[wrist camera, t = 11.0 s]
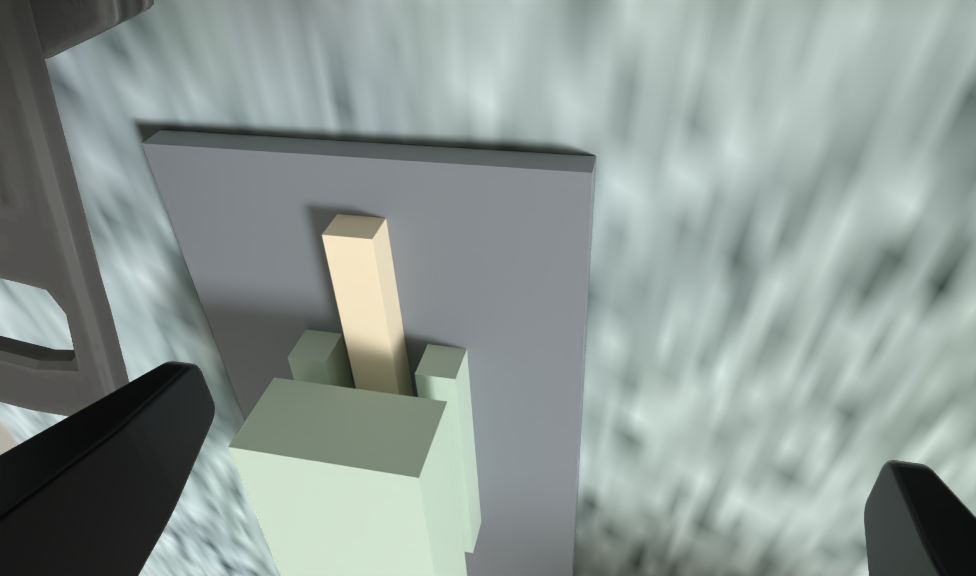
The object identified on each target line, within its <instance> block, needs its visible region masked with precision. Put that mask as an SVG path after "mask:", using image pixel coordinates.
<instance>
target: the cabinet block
mask: <svg viewBox="0 0 976 576" xmlns="http://www.w3.org/2000/svg"><path fill="white" fill-rule="evenodd" d="M288 361H289V364H290V367H291V371H292V374H293V378H294V380H289V379H281V378H273V380H272V381H271V383H270V385H269V386H268V388H267V389H266V391H265V392H264V394H263V395H262V397H261V398H260V400H259V401H258V403H257V404H256V406H255V407H254V409H253V410H252V412H251V413H250V415H249V416H248V418H247V419H246V421H245V422H244V424H243V425H242V427H241V428H240V430H239V431H238V433H237V434H236V436H235V437H234V439H233V440H232V442H231V443H230V445H229V446H228V448H229V450H230V453H231V455H232V458H233V460H234V463H235V465H236V468H237V470H238V473H239V475H240V477H241V480H242V482H243V485H244V487H245V490H246V492H247V495H248V497H249V499H250V502H251V504H252V507H253V509H254V512H255V514H256V517H257V519H258V521H259V524H260V526H261V529H262V531H263V534H264V536H265V539H266V541H267V544H268V546H269V548H270V551H271V553H272V556H273V558H274V561H275V563H276V566H277V568H278V570H279V573H280V575H281V576H467V570H466V561H465V553H464V552H470V553H473V551H474V548H475V544H476V540H477V536H478V533H479V529H480V525H481V512H480V500H479V488H478V476H477V464H476V453H475V441H474V429H473V417H472V405H471V393H470V381H469V369H468V357H467V349H463V348H455V347H447V346H438V345H430V344H428V345H427V347H426V350H425V352H424V354H423V356H422V359H421V361H420V363H419V365H418V368H417V370H416V372H415V379H416V386H417V393H418V397H412V396H405V395H397V394H390V393H383V392H376V391H368V390H361V389H354V384H353V380H352V375H351V371H350V367H349V362H348V358H347V353H346V349H345V344H344V340H343V335H342V334H340V333H331V332H323V331H315V330H307V329H306V330H305V332H304V333H303V335H302V336H301V338H300V339H299V341H298V342H297V344H296V345H295V347H294V348H293V350H292V351H291V353H290V354H289V356H288Z"/></svg>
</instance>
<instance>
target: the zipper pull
mask: <svg viewBox="0 0 976 576" xmlns="http://www.w3.org/2000/svg"><path fill="white" fill-rule="evenodd" d="M153 4H154V0H0V278H2V279H6V280H11V281H15V282H19V283H23V284H27V285H30V286H34V287H38V288H41V289H45V290H47V291H48V292H49V294H50V295H51V296H52V297H53V299H54V300H55V301H56V302H57V304H58V305H59V306H60V307H61V308H62V310H63V311H64V312H65V313H66V315H67V320H68V324H69V329H70V333H71V338H72V342H73V347H74V350H55V349H51V348H47V347H43V346H39V345H35V344H31V343H27V342H23V341H19V340H15V339H11V338H7V337H3V336H0V402H3V403H7V404H10V405H14V406H18V407H22V408H26V409H30V410H35V411H40V412H46V413H52V414H58V415H64V416H71V415H73V414H74V413H76V412H78V411H80V410H82V409H83V408H85V407H87V406H89V405H91V404H92V403H94V402H96V401H98V400H99V399H101V398H103V397H105V396H107V395H108V394H110V393H112V392H114V391H115V390H117V389H119V388H121V387H123V386H124V385H126V384H128V383H129V379H128V375H127V371H126V368H125V364H124V360H123V356H122V352H121V348H120V344H119V340H118V336H117V332H116V328H115V324H114V320H113V316H112V312H111V309H110V305H109V302H108V298H107V295H106V292H105V288H104V285H103V282H102V278H101V274H100V271H99V267H98V263H97V259H96V255H95V251H94V248H93V244H92V240H91V236H90V232H89V228H88V225H87V221H86V217H85V213H84V209H83V205H82V202H81V198H80V194H79V190H78V186H77V182H76V178H75V175H74V171H73V167H72V163H71V159H70V155H69V152H68V148H67V144H66V140H65V136H64V132H63V129H62V125H61V121H60V117H59V113H58V109H57V106H56V102H55V98H54V94H53V90H52V86H51V83H50V79H49V75H48V71H47V67H46V63H45V59H46V58H50V57H53V56H55V55H57V54H59V53H61V52H63V51H65V50H67V49H69V48H71V47H73V46H76V45H78V44H80V43H82V42H84V41H86V40H88V39H90V38H92V37H94V36H96V35H98V34H100V33H102V32H104V31H106V30H108V29H110V28H112V27H114V26H116V25H118V24H120V23H122V22H124V21H126V20H128V19H129V18H131V17H133V16H135V15H137V14H139V13H141V12H143V11H145V10H147V9H149V8H150V7H151V6H152V5H153Z"/></svg>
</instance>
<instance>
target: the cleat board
mask: <svg viewBox="0 0 976 576" xmlns="http://www.w3.org/2000/svg"><path fill="white" fill-rule="evenodd" d="M142 146H143V149H144V151H145V154H146V157H147V159H148V162H149V165H150V167H151V170H152V173H153V175H154V178H155V181H156V183H157V186H158V189H159V191H160V194H161V197H162V200H163V202H164V205H165V208H166V210H167V213H168V216H169V218H170V221H171V224H172V226H173V229H174V232H175V234H176V237H177V240H178V242H179V245H180V248H181V250H182V253H183V256H184V259H185V261H186V264H187V267H188V269H189V272H190V275H191V277H192V280H193V283H194V285H195V288H196V291H197V293H198V296H199V299H200V301H201V304H202V307H203V309H204V312H205V315H206V318H207V320H208V323H209V326H210V328H211V331H212V334H213V336H214V339H215V342H216V344H217V347H218V350H219V352H220V355H221V358H222V360H223V363H224V366H225V368H226V371H227V374H228V376H229V379H230V382H231V385H232V387H233V390H234V393H235V395H236V398H237V401H238V403H239V406H240V409H241V411H242V414H243V417H244V419H245V421H246V419H247V418H248V416H249V415H250V413H251V412H252V410H253V409H254V407H255V406H256V404H257V403H258V401H259V400H260V398H261V397H262V395H263V394H264V392H265V391H266V389H267V388H268V386H269V385H270V383H271V381H272V380H273V378H281V379H289V380H294V378H293V374H292V371H291V367H290V364H289V361H288V356H289V354H290V353H291V351H292V350H293V348H294V347H295V345H296V344H297V342H298V341H299V339H300V338H301V336H302V335H303V333H304V332H305V330H306V329H307V330H315V331H323V332H331V333H340V334H342V335H343V340H344V344H345V349H346V353H347V358H348V362H349V367H350V371H351V375H352V380H353V384H354V389H361V390H368V391H376V392H383V393H390V394H397V395H405V396H412V397H418V393H417V386H416V379H415V372H416V370H417V368H418V365H419V363H420V361H421V359H422V356H423V354H424V352H425V350H426V347H427V345H428V344H430V345H438V346H447V347H455V348H463V349H467V357H468V369H469V381H470V393H471V405H472V417H473V429H474V441H475V453H476V464H477V476H478V488H479V500H480V512H481V525H480V529H479V533H478V536H477V540H476V544H475V548H474V551H473V553H470V552H464V553H465V561H466V570H467V576H573V570H574V551H575V533H576V515H577V496H578V478H579V460H580V441H581V423H582V405H583V386H584V368H585V350H586V332H587V313H588V295H589V277H590V258H591V240H592V222H593V203H594V185H595V167H596V156H581V155H565V154H548V153H532V152H516V151H499V150H483V149H466V148H450V147H433V146H417V145H400V144H384V143H367V142H351V141H334V140H318V139H301V138H285V137H268V136H252V135H235V134H219V133H202V132H186V131H169V130H160V131H158V132H157V133H155V134H154V135H153V136H151V137H150V138H148V139H147V140H146V141H144V142H143V143H142Z"/></svg>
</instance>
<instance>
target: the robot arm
mask: <svg viewBox="0 0 976 576" xmlns="http://www.w3.org/2000/svg"><path fill="white" fill-rule="evenodd" d="M214 413H215V406H214V401H213V399H212V396H211V394H210V391H209V389H208V386H207V384H206V381H205V379H204V376H203V374H202V371H201V370H200V368H199V367H198V366H197V365H195V364H191V363H183V362H176V361H170V362H166V363H164V364H162V365H160V366H158V367H157V368H155V369H153V370H151V371H149V372H148V373H146V374H144V375H142V376H140V377H139V378H137V379H135V380H133V381H132V382H130V383H128V384H126V385H124V386H123V387H121V388H119V389H117V390H115V391H114V392H112V393H110V394H108V395H107V396H105V397H103V398H101V399H99V400H98V401H96V402H94V403H92V404H91V405H89V406H87V407H85V408H83V409H82V410H80V411H78V412H76V413H74V414H73V415H71V416H69V417H67V418H66V419H64V420H62V421H60V422H58V423H57V424H55V425H53V426H51V427H49V428H48V429H46V430H44V431H42V432H41V433H39V434H37V435H35V436H33V437H32V438H30V439H28V440H26V441H24V442H23V443H21V444H19V445H17V446H16V447H14V448H12V449H10V450H9V451H7V452H5V453H3V454H1V455H0V576H138V575H139V574H140V572H141V570H142V568H143V566H144V565H145V563H146V561H147V559H148V557H149V556H150V554H151V552H152V550H153V548H154V547H155V545H156V543H157V541H158V539H159V538H160V536H161V534H162V532H163V530H164V528H165V527H166V525H167V523H168V521H169V519H170V517H171V515H172V513H173V511H174V509H175V507H176V504H177V502H178V500H179V498H180V496H181V493H182V491H183V489H184V486H185V484H186V482H187V479H188V477H189V475H190V472H191V470H192V468H193V465H194V463H195V461H196V459H197V456H198V454H199V452H200V449H201V447H202V445H203V442H204V440H205V438H206V435H207V433H208V431H209V428H210V426H211V424H212V421H213V418H214ZM864 525H865V536H866V547H867V558H868V569H869V576H976V517H975V516H974V515H973V514H972V512H971V511H970V510H969V509H968V508H967V507H966V506H965V505H964V504H963V503H962V502H961V500H960V499H959V498H958V497H957V496H956V495H955V494H954V493H953V492H952V491H951V490H950V488H949V487H948V486H947V485H946V484H945V483H944V482H943V481H942V480H941V479H940V478H939V476H938V475H937V474H936V473H935V472H934V471H933V470H932V469H930V468H929V467H928V466H926V465H923V464H919V463H912V462H904V461H897V460H890V461H888V462H886V463H885V464H884V466H883V467H882V469H881V471H880V473H879V476H878V478H877V480H876V482H875V484H874V486H873V488H872V491H871V493H870V495H869V497H868V499H867V502H866V505H865V511H864Z"/></svg>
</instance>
